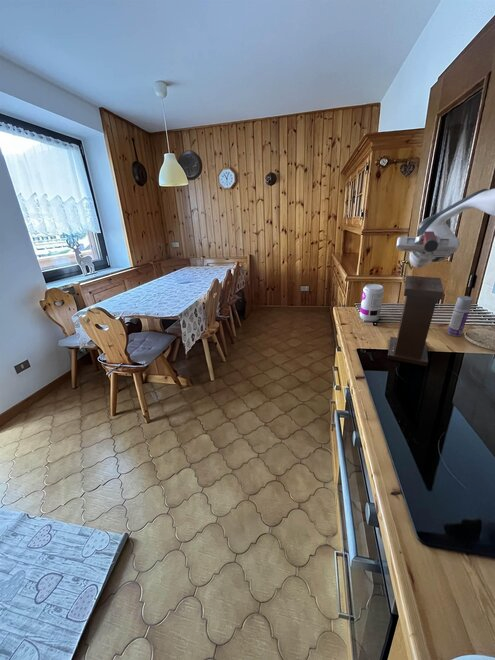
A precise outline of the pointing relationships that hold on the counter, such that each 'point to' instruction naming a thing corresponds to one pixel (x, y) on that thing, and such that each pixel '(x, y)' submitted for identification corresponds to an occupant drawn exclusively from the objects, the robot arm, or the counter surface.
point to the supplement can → (371, 302)
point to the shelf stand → (415, 320)
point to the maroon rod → (430, 241)
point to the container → (459, 315)
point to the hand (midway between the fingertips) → (429, 237)
